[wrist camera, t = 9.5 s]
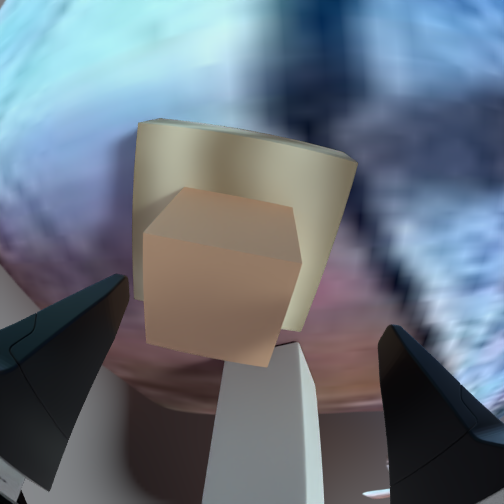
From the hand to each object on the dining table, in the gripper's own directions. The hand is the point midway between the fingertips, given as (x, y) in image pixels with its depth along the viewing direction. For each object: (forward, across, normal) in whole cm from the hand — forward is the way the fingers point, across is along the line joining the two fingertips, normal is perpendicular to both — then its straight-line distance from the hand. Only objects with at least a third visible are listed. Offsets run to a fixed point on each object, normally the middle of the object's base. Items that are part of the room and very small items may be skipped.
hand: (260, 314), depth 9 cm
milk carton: (+12, -4, +17) cm, 21 cm away
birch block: (+12, +2, +2) cm, 12 cm away
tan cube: (+8, +2, +2) cm, 9 cm away
